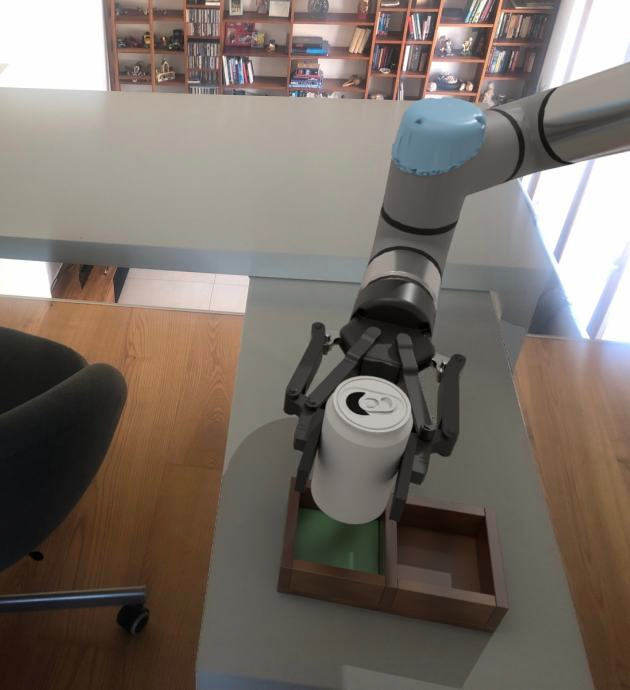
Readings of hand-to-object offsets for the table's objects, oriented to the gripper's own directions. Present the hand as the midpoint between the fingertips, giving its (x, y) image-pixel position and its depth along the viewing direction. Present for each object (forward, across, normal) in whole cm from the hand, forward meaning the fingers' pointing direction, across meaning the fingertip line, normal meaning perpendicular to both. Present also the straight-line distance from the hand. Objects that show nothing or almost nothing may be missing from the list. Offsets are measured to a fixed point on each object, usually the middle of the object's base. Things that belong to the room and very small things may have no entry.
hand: (348, 495), depth 51 cm
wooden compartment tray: (-6, -4, -16) cm, 18 cm away
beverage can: (-5, 0, -7) cm, 9 cm away
